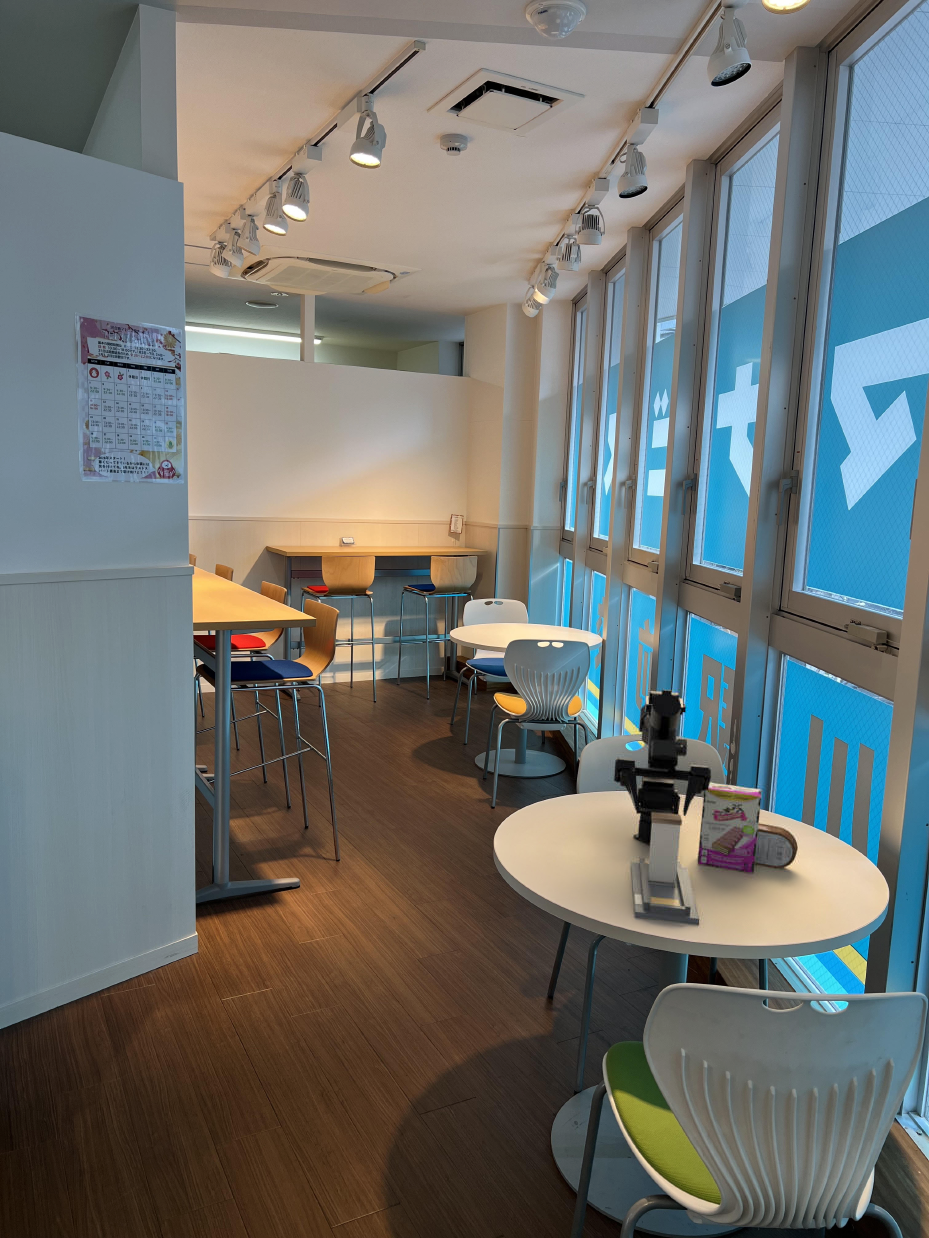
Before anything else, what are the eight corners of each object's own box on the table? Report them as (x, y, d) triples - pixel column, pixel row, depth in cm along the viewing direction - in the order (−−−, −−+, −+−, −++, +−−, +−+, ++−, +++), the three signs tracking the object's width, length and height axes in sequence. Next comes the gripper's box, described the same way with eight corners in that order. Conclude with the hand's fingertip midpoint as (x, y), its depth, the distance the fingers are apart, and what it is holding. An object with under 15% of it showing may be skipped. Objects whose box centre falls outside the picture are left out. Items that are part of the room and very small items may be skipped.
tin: (795, 867, 175) (799, 828, 173) (794, 873, 172) (798, 834, 170) (719, 852, 181) (722, 815, 179) (717, 858, 178) (720, 820, 176)
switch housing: (630, 866, 172) (631, 854, 172) (686, 872, 170) (687, 860, 170) (635, 917, 150) (635, 903, 150) (699, 924, 149) (700, 910, 148)
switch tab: (647, 874, 165) (651, 812, 163) (675, 877, 164) (680, 814, 163) (647, 880, 162) (652, 817, 160) (676, 883, 161) (681, 820, 160)
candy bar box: (697, 865, 174) (703, 787, 172) (698, 856, 179) (704, 780, 177) (754, 874, 171) (761, 795, 168) (754, 865, 175) (761, 788, 173)
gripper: (618, 718, 172) (613, 787, 163) (713, 726, 169) (715, 797, 159) (616, 747, 181) (611, 814, 171) (707, 755, 177) (708, 824, 168)
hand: (660, 812), depth 167 cm, fingers open, 9 cm apart
